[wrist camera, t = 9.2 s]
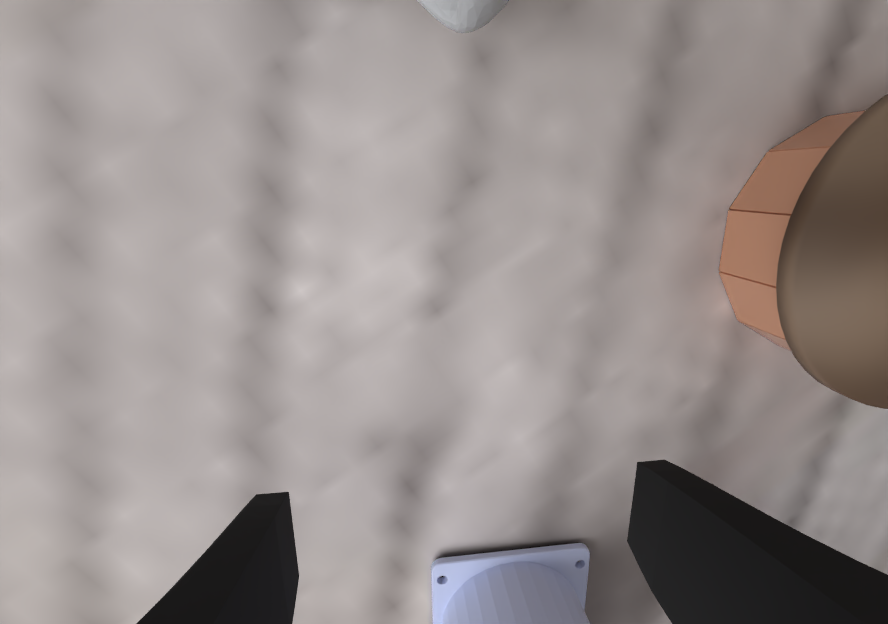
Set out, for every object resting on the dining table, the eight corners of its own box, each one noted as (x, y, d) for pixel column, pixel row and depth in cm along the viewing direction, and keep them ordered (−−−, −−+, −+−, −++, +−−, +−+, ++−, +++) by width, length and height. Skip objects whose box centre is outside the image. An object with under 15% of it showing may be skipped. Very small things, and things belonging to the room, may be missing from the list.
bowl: (896, 338, 22) (1002, 371, 18) (706, 349, 21) (777, 387, 17) (958, 116, 19) (1099, 101, 15) (743, 115, 18) (838, 98, 14)
